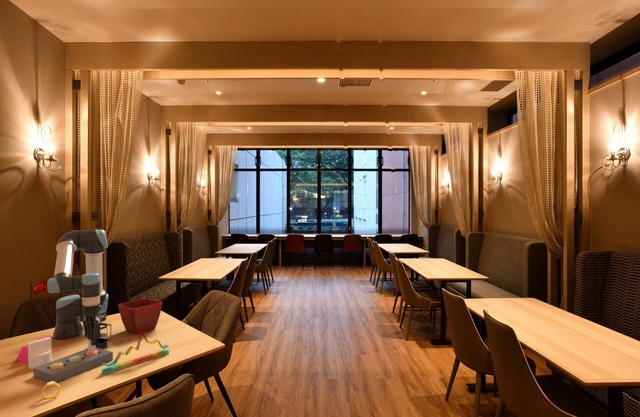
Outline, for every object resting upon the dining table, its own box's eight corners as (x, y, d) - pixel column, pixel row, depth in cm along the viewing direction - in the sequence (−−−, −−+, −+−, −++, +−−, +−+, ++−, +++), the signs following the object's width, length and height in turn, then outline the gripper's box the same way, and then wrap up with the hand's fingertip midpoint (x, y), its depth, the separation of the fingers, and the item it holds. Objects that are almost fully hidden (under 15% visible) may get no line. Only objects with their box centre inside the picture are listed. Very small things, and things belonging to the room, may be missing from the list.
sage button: (66, 365, 170) (66, 359, 170) (77, 361, 174) (77, 355, 174) (72, 367, 168) (72, 360, 167) (83, 363, 172) (83, 356, 172)
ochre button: (47, 372, 162) (47, 365, 162) (59, 367, 167) (59, 361, 167) (53, 374, 160) (53, 367, 160) (65, 369, 165) (65, 363, 165)
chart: (104, 375, 163) (104, 343, 163) (102, 373, 165) (101, 341, 165) (169, 354, 186) (168, 325, 186) (166, 352, 188) (165, 324, 188)
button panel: (33, 376, 162) (33, 368, 162) (93, 354, 186) (93, 346, 186) (53, 384, 155) (53, 374, 155) (112, 359, 180) (112, 351, 179)
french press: (85, 352, 189) (84, 309, 189) (87, 346, 198) (86, 305, 198) (111, 348, 195) (110, 306, 195) (111, 342, 203) (111, 302, 203)
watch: (41, 401, 142) (40, 386, 142) (43, 398, 144) (41, 383, 144) (60, 396, 145) (58, 381, 145) (61, 393, 147) (59, 379, 147)
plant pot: (147, 322, 237) (147, 297, 237) (163, 328, 226) (163, 301, 226) (117, 331, 222) (117, 304, 222) (133, 337, 211) (132, 309, 211)
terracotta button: (83, 358, 177) (83, 352, 177) (93, 355, 181) (93, 349, 181) (90, 360, 175) (89, 354, 175) (100, 356, 179) (100, 350, 179)
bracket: (51, 356, 185) (51, 336, 185) (27, 363, 176) (27, 343, 176) (40, 351, 191) (40, 332, 191) (17, 358, 182) (16, 338, 182)
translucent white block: (33, 370, 169) (32, 345, 169) (25, 366, 174) (24, 341, 174) (55, 363, 177) (54, 339, 176) (47, 359, 181) (46, 335, 181)
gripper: (75, 304, 177) (76, 352, 177) (91, 307, 172) (92, 356, 172) (90, 301, 184) (91, 346, 184) (106, 303, 178) (107, 350, 178)
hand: (91, 351), depth 178 cm, fingers closed
